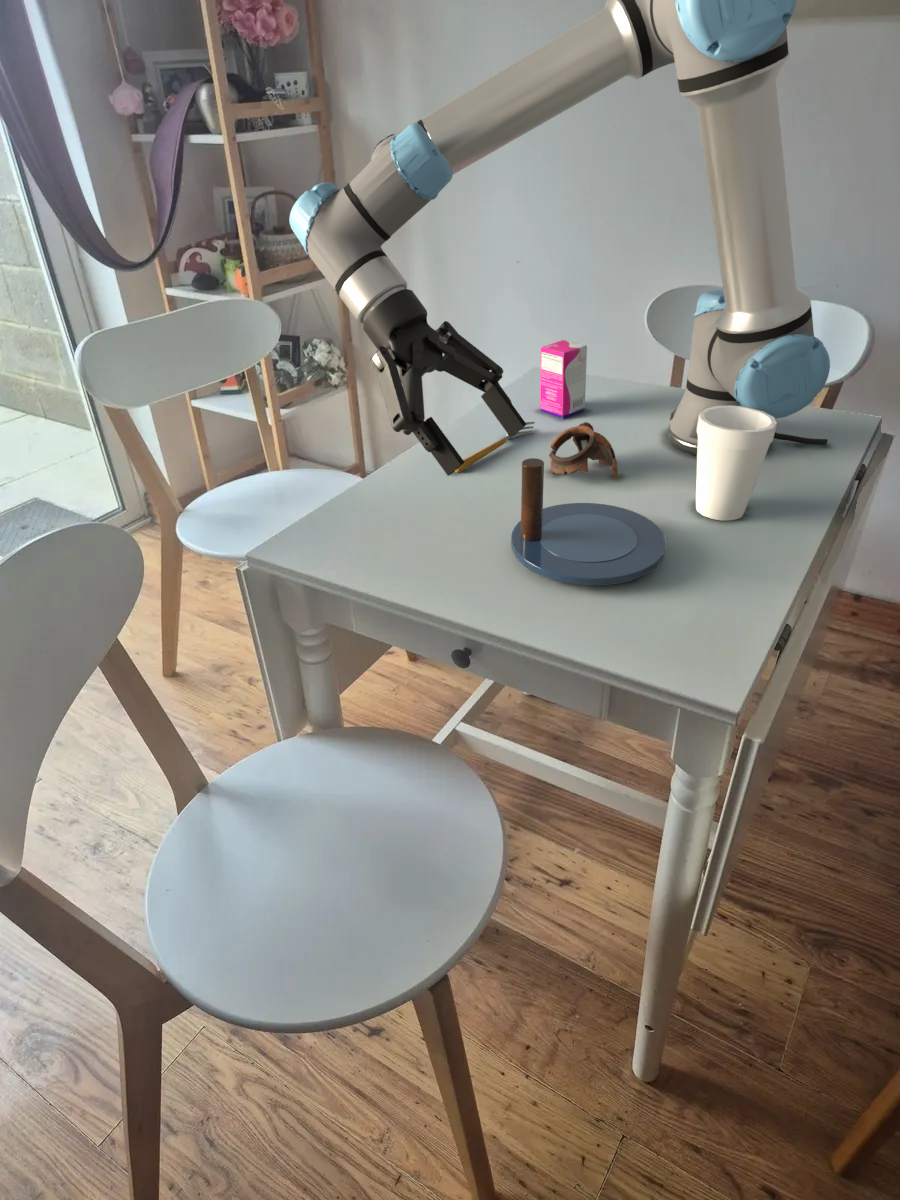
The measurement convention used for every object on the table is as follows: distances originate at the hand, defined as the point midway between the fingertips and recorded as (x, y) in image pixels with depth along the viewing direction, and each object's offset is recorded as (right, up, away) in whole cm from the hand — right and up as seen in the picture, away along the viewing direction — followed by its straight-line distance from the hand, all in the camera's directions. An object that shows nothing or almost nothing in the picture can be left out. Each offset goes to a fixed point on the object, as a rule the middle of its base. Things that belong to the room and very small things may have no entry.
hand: (489, 449), depth 99 cm
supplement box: (+15, +15, +44) cm, 49 cm away
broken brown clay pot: (+15, +1, +23) cm, 28 cm away
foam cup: (+32, -6, +12) cm, 35 cm away
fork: (+2, +5, +31) cm, 31 cm away
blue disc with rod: (+12, -11, +2) cm, 17 cm away
